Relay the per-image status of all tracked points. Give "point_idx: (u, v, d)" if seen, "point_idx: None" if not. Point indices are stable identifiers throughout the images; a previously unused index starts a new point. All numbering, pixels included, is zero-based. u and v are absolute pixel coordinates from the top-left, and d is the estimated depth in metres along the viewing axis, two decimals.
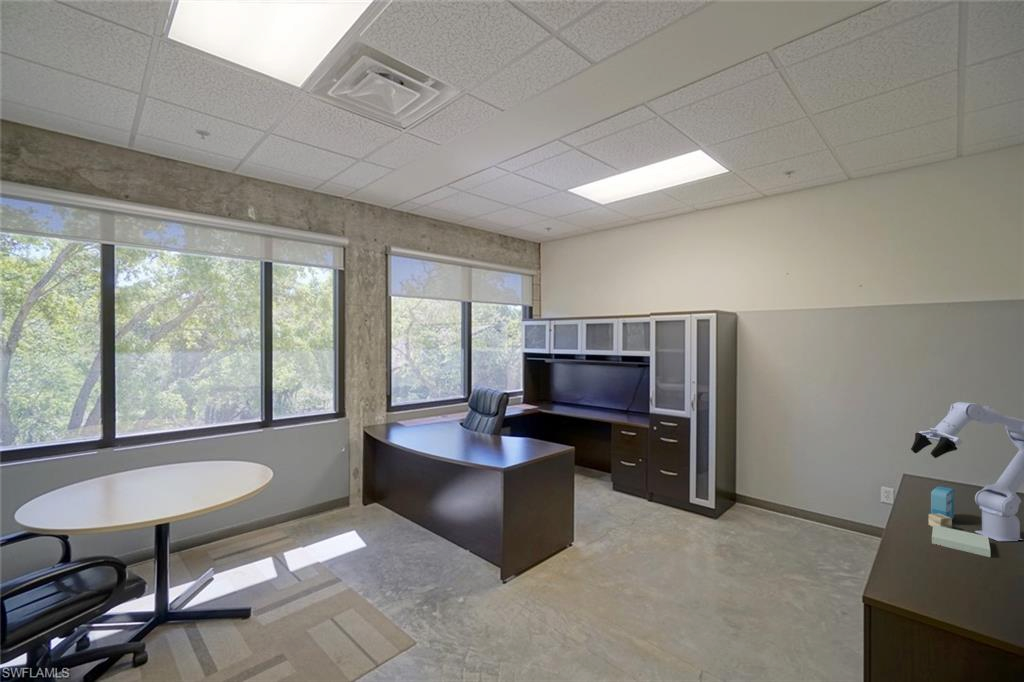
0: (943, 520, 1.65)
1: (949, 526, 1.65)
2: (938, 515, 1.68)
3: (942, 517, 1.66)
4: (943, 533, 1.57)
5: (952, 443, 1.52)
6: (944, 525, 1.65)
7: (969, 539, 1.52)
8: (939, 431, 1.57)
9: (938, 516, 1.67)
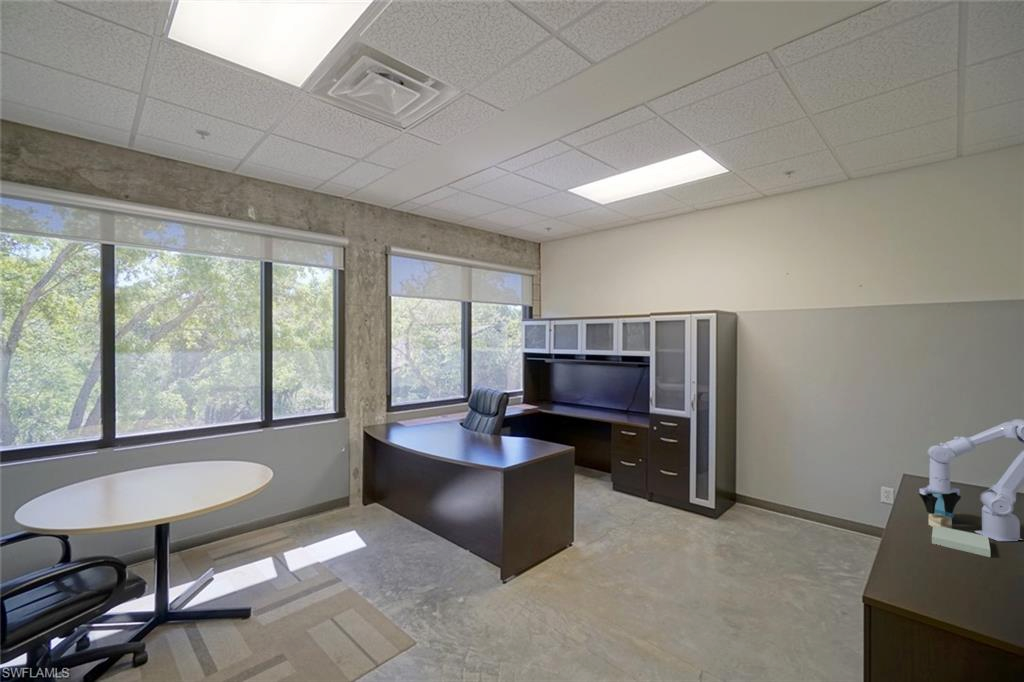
0: (943, 520, 1.65)
1: (949, 526, 1.65)
2: (938, 515, 1.68)
3: (942, 517, 1.66)
4: (943, 533, 1.57)
5: (924, 495, 1.67)
6: (944, 525, 1.65)
7: (969, 539, 1.52)
8: None
9: (938, 516, 1.67)
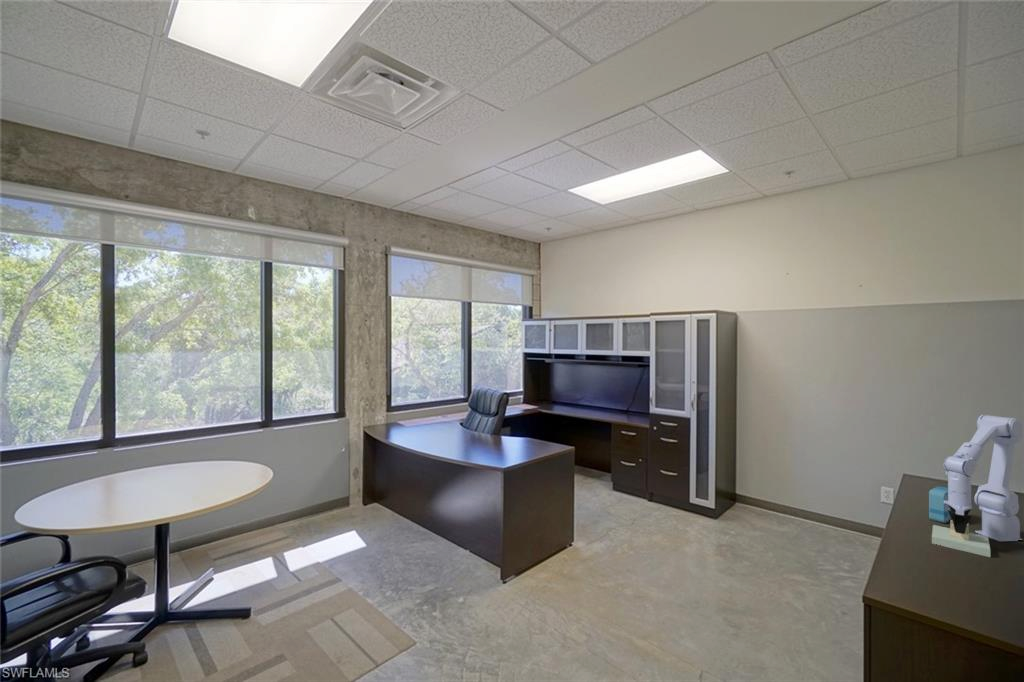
0: (968, 528, 1.51)
1: None
2: None
3: None
4: (943, 533, 1.57)
5: (958, 515, 1.50)
6: (968, 533, 1.52)
7: (969, 539, 1.52)
8: (949, 502, 1.55)
9: None
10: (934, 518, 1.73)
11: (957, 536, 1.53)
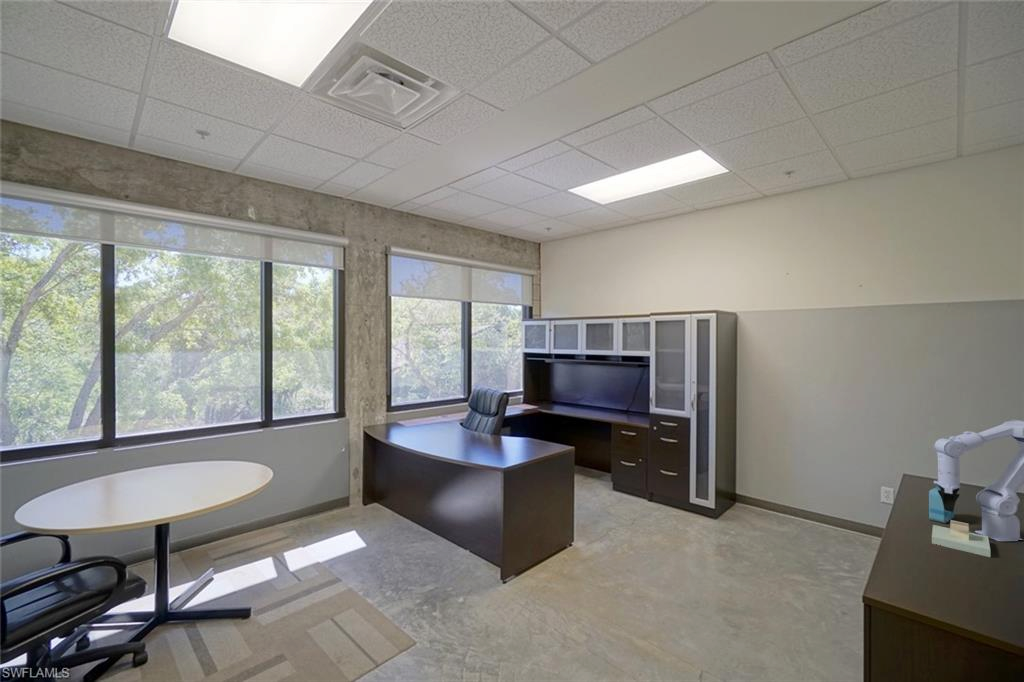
0: (968, 528, 1.51)
1: None
2: (957, 523, 1.54)
3: (963, 524, 1.53)
4: (943, 533, 1.57)
5: (947, 493, 1.58)
6: (968, 533, 1.52)
7: (969, 539, 1.52)
8: (938, 482, 1.63)
9: (959, 524, 1.54)
10: (934, 518, 1.73)
11: (957, 536, 1.53)
